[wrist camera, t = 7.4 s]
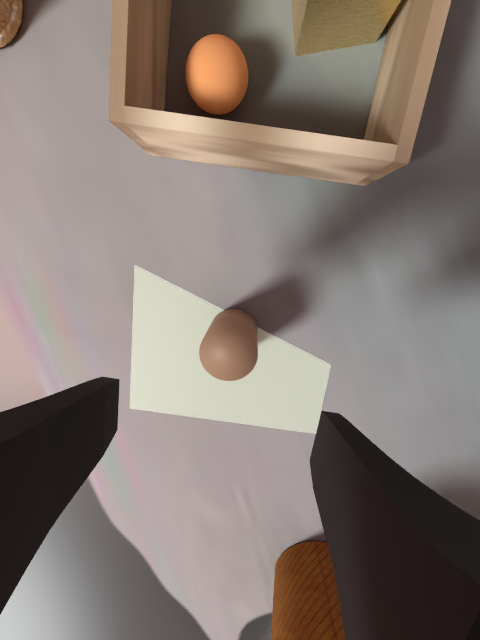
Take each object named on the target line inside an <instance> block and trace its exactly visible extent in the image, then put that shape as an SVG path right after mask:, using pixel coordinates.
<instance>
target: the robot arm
mask: <svg viewBox="0 0 480 640" xmlns="http://www.w3.org/2000/svg"><path fill="white" fill-rule="evenodd" d="M118 401H119V379H114V378H107V377H100V378H96V379H93V380H90V381H87V382H85V383H82V384H79V385H77V386H74V387H71V388H69V389H66V390H63V391H61V392H58V393H55V394H53V395H50V396H47V397H45V398H42V399H39V400H36V401H33V402H30V403H27V404H25V405H21V406H19V407H16V408H13V409H9V410H6V411H3V412H0V614H1V612H2V610H3V609H4V607H5V605H6V603H7V602H8V600H9V598H10V596H11V595H12V593H13V591H14V589H15V588H16V586H17V584H18V583H19V581H20V579H21V577H22V576H23V574H24V572H25V570H26V568H27V567H28V565H29V563H30V562H31V560H32V559H33V557H34V555H35V554H36V552H37V550H38V549H39V547H40V545H41V544H42V542H43V540H44V539H45V537H46V535H47V534H48V532H49V530H50V529H51V527H52V526H53V524H54V523H55V521H56V520H57V519H58V517H59V515H60V514H61V513H62V511H63V510H64V509H65V507H66V506H67V505H68V503H69V502H70V501H71V499H72V498H73V496H74V495H75V493H76V492H77V491H78V490H79V488H80V486H82V484H83V483H84V481H85V480H86V479H87V477H88V476H89V475H90V473H91V472H92V470H93V469H94V468H95V466H96V465H97V463H98V462H99V461H100V459H101V458H102V456H103V455H104V453H105V451H106V450H107V448H108V446H109V444H110V442H111V441H112V439H113V437H114V435H115V433H116V431H117V424H118ZM310 466H311V475H312V482H313V489H314V493H315V497H316V501H317V505H318V509H319V513H320V517H321V521H322V525H323V529H324V533H325V536H326V540H327V544H328V548H329V552H330V556H331V560H332V564H333V569H334V573H335V578H336V584H337V590H338V596H339V602H340V608H341V614H342V621H343V627H344V634H345V640H480V521H479V520H478V519H476V518H475V517H473V516H471V515H470V514H468V513H466V512H465V511H463V510H461V509H460V508H458V507H457V506H455V505H454V504H452V503H451V502H449V501H447V500H446V499H444V498H443V497H442V496H440V495H439V494H437V493H436V492H434V491H433V490H432V489H430V488H429V487H427V486H426V485H424V484H423V483H422V482H420V481H419V480H418V479H416V478H415V477H413V476H412V475H411V474H410V473H408V472H407V471H406V470H405V469H403V468H402V467H401V466H400V465H398V464H397V463H396V462H395V461H393V460H392V459H391V458H390V457H388V456H387V455H386V454H385V453H384V452H383V451H381V450H380V449H379V448H378V447H377V446H376V445H375V444H373V443H372V442H371V441H370V440H369V439H368V438H367V437H366V436H364V435H363V434H362V433H361V432H360V431H359V430H358V429H357V428H356V427H354V426H353V425H352V424H351V423H350V422H349V421H348V420H347V419H345V418H344V417H343V416H342V415H340V414H338V413H332V412H325V411H321V416H320V420H319V424H318V428H317V432H316V436H315V441H314V445H313V449H312V453H311V457H310Z"/></svg>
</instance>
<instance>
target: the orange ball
mask: <svg viewBox="0 0 480 640" xmlns="http://www.w3.org/2000/svg"><path fill="white" fill-rule="evenodd" d="M185 76H186V83H187V87H188V90H189V93H190V95H191V97H192V98H193V100H194V101H195V103H196V104H197V105H198V106H199V107H200V108H201V109H203V110H204V111H206V112H208V113H211V114H216V115H221V114H226V113H229V112H230V111H232V110H234V109H235V108H236V107H237V106H238V105H239V104H240V102H241V101H242V99H243V98H244V95H245V93H246V90H247V86H248V67H247V62H246V59H245V57H244V54H243V52H242V51H241V49H240V48H239V46H238V45H237V44H236V43H235V42H234V41H233V40H231V39H230V38H228V37H226V36H224V35H220V34H210V35H207V36H205V37H203V38H201V39H200V40H199V41H197V42H196V44H195V45H194V46H193V47H192V49H191V51H190V53H189V55H188V58H187V62H186V68H185Z"/></svg>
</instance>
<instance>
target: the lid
mask: <svg viewBox="0 0 480 640" xmlns="http://www.w3.org/2000/svg"><path fill="white" fill-rule="evenodd" d="M330 368H331V365H330V364H328V363H326V362H325V361H323V360H321V359H319V358H317V357H315V356H313V355H311V354H309V353H307V352H305V351H303V350H301V349H299V348H297V347H295V346H293V345H291V344H289V343H287V342H285V341H283V340H281V339H279V338H277V337H276V336H274V335H272V334H270V333H268V332H266V331H264V330H262V329H260V328H258V327H257V326H256V323H255V321H254V319H253V318H252V317H251V316H250V315H249V314H248V313H247V312H245V311H243V310H240V309H227V310H223V309H221V308H219V307H217V306H215V305H213V304H211V303H209V302H207V301H205V300H203V299H201V298H199V297H197V296H195V295H193V294H191V293H189V292H187V291H185V290H183V289H181V288H179V287H178V286H176V285H174V284H172V283H170V282H168V281H166V280H164V279H162V278H160V277H158V276H156V275H154V274H152V273H150V272H148V271H146V270H144V269H142V268H140V267H138V266H136V265H135V271H134V300H133V328H132V356H131V384H130V409H137V410H145V411H152V412H159V413H167V414H174V415H181V416H189V417H196V418H203V419H211V420H218V421H225V422H233V423H240V424H247V425H255V426H262V427H269V428H277V429H284V430H291V431H299V432H306V433H313V434H316V432H317V428H318V423H319V419H320V414H321V409H322V405H323V400H324V395H325V391H326V386H327V382H328V377H329V372H330Z"/></svg>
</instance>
